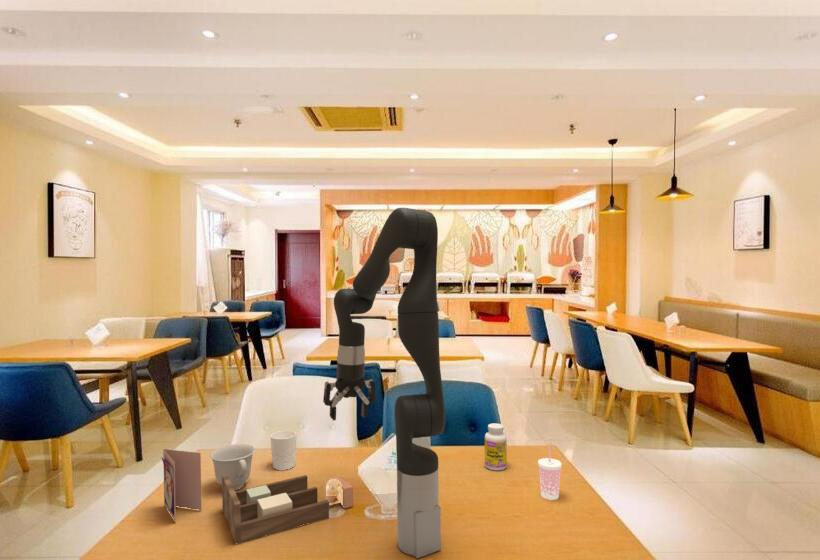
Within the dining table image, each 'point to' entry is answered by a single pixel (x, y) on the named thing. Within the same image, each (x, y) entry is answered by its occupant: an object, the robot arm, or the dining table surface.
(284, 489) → the lane rack
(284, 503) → the cream long block
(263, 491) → the sage block
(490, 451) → the supplement bottle
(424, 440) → the skincare box
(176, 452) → the greeting card
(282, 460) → the white cup
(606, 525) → the dining table surface
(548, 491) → the beverage cup
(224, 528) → the dining table surface
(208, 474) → the dining table surface
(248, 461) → the teacup
